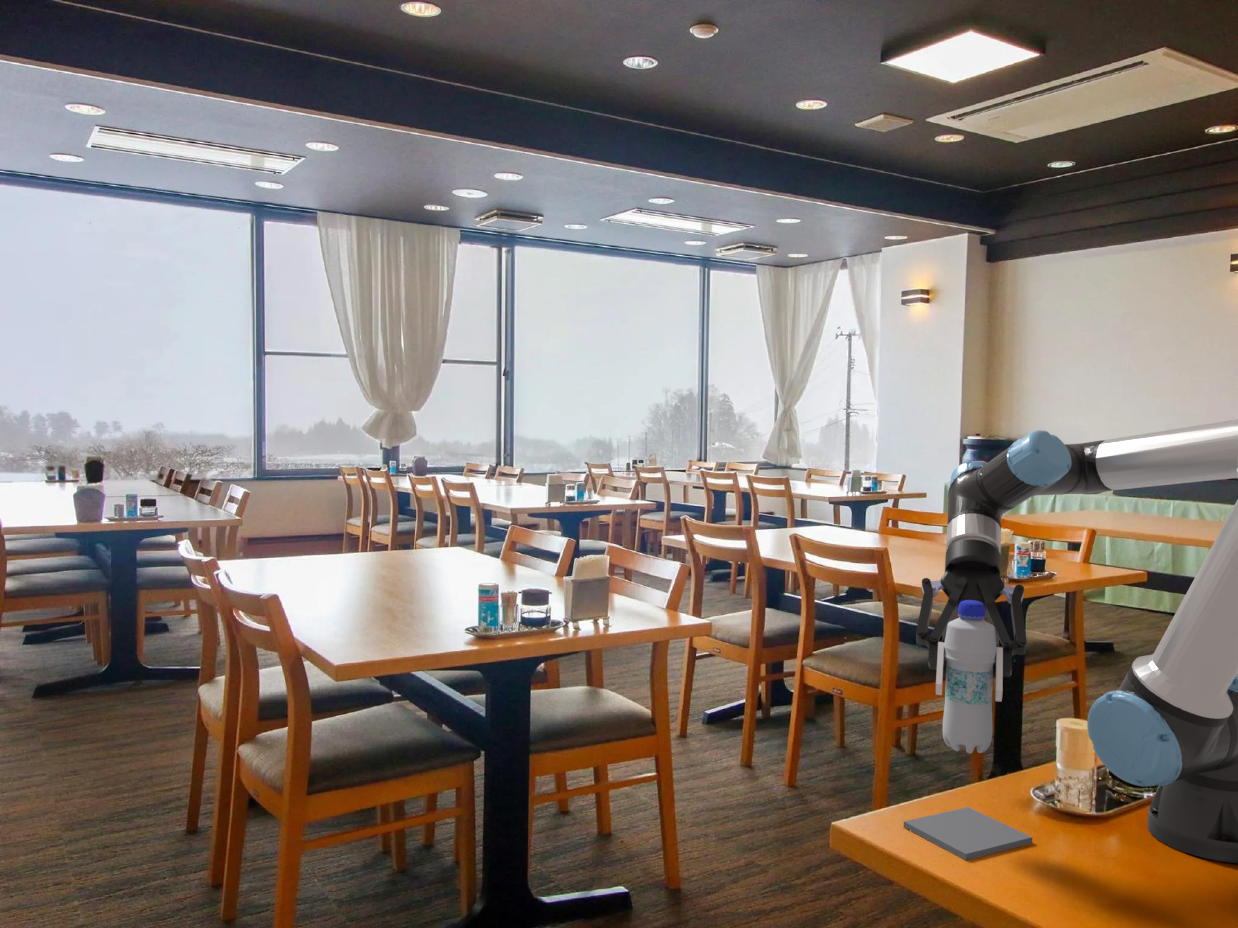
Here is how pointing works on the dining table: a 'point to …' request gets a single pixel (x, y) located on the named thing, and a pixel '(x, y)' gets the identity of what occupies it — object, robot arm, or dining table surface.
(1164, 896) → the dining table surface
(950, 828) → the mat
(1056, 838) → the dining table surface
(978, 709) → the bottle
